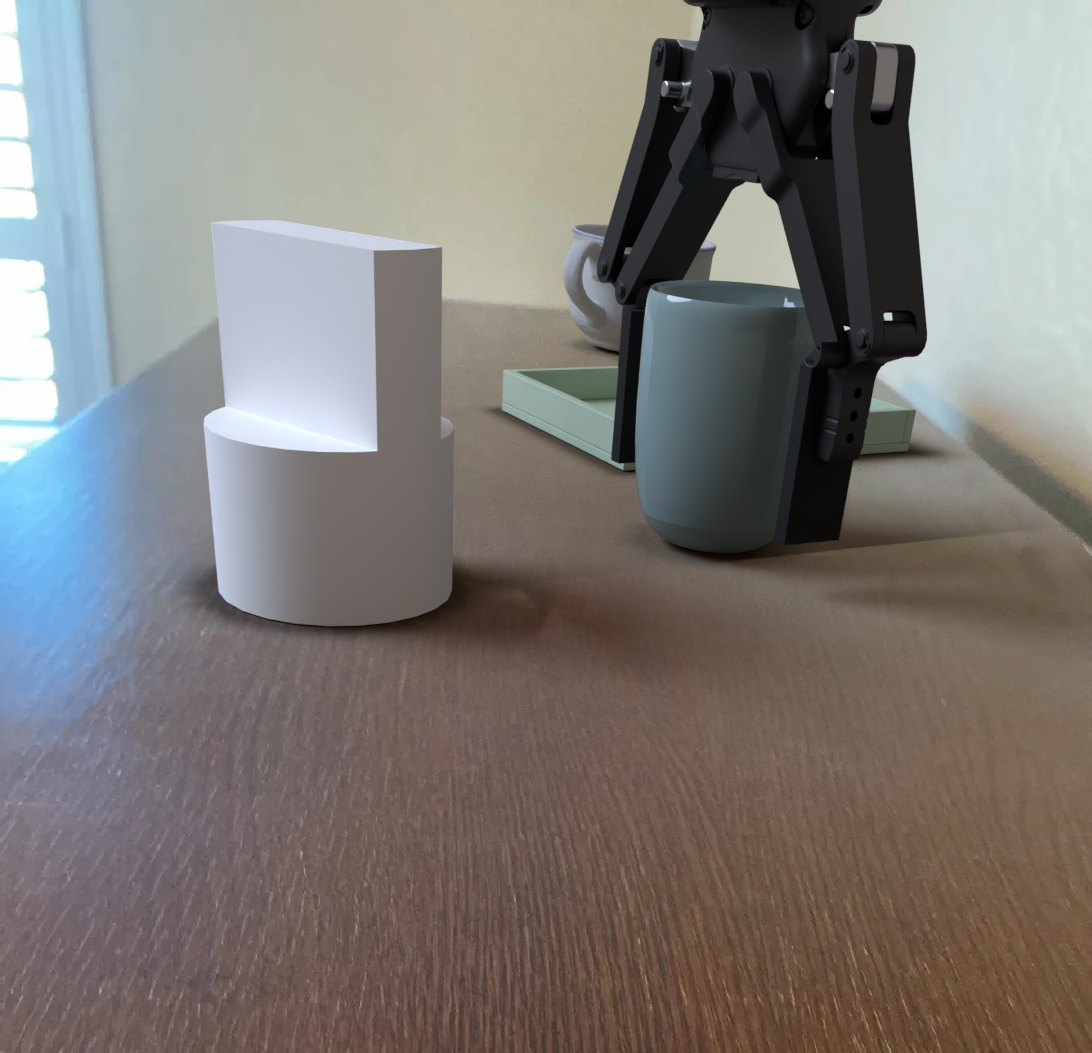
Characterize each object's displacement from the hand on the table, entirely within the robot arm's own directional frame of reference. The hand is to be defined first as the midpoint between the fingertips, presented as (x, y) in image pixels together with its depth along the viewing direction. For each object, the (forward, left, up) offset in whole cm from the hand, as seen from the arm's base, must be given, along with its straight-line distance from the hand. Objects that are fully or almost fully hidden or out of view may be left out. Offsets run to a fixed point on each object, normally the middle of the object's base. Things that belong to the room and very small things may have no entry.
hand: (715, 498), depth 58 cm
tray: (-12, -20, -2) cm, 23 cm away
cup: (0, 0, -2) cm, 2 cm away
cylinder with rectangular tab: (+18, +1, -2) cm, 18 cm away
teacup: (-21, -46, -2) cm, 51 cm away
